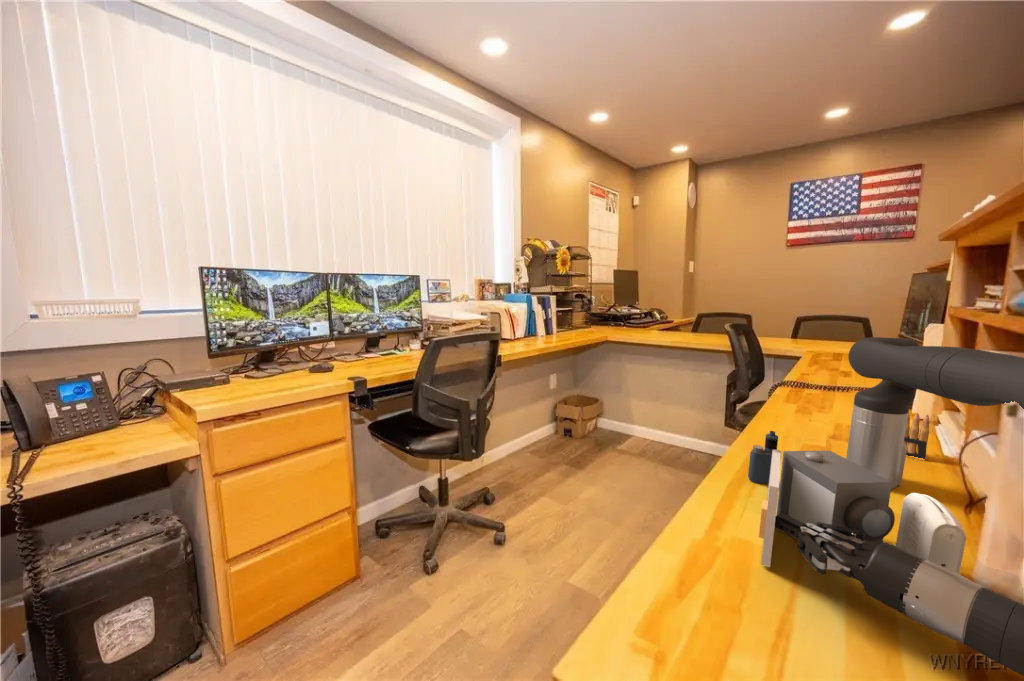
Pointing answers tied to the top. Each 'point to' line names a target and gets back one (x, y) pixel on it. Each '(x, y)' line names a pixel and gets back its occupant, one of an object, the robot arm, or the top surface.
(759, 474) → the vaping device
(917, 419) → the ammunition clip
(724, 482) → the top surface
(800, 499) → the block
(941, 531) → the photo printer
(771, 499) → the side door
